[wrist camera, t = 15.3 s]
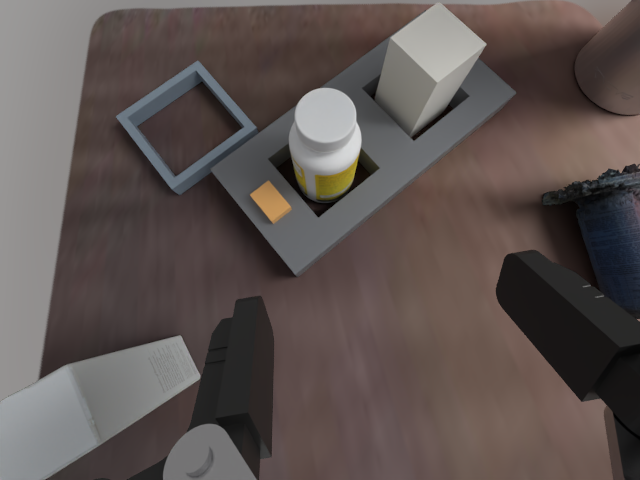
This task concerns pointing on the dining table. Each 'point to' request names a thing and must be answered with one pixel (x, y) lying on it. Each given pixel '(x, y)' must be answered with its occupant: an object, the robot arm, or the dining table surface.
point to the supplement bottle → (325, 144)
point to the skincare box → (87, 406)
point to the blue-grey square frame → (168, 95)
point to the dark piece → (610, 231)
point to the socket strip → (373, 133)
